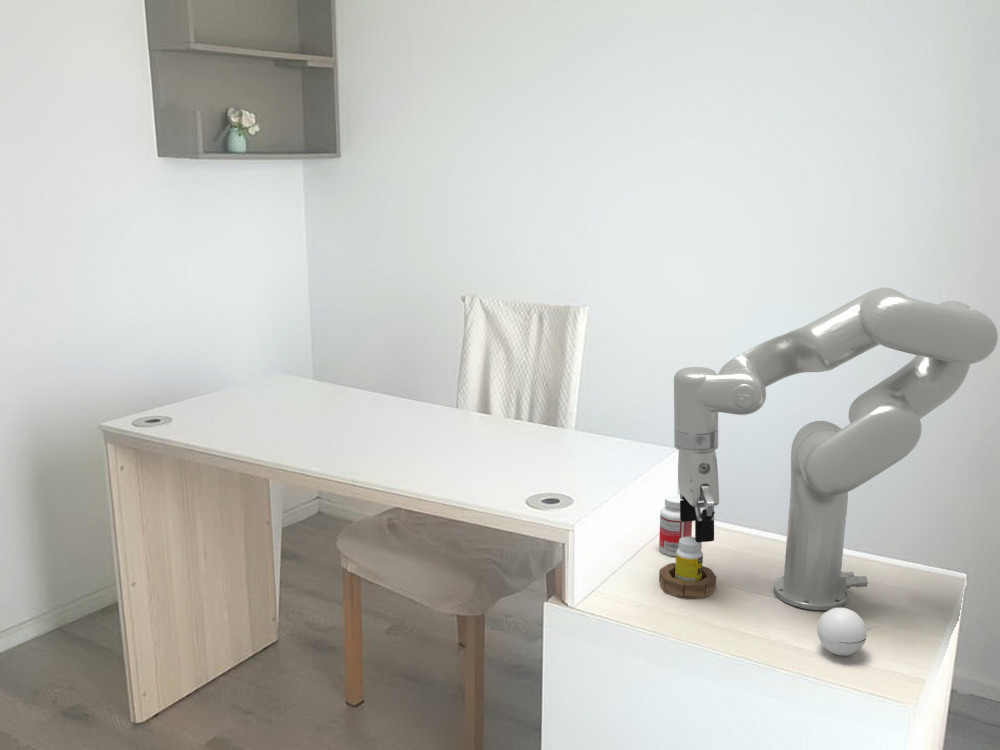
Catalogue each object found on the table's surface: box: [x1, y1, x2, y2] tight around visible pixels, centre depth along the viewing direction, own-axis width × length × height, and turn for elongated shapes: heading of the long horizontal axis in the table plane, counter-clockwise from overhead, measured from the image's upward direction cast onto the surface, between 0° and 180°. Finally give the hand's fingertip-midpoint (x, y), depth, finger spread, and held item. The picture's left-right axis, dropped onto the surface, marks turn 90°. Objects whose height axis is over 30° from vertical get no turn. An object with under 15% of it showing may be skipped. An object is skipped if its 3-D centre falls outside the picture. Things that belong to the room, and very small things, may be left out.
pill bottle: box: [658, 493, 693, 557], centre depth 192 cm, size 6×6×11 cm
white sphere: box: [817, 607, 880, 656], centre depth 154 cm, size 10×7×7 cm
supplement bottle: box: [675, 536, 704, 582], centre depth 176 cm, size 5×5×8 cm
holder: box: [658, 562, 717, 600], centre depth 177 cm, size 10×10×3 cm
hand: (696, 530), depth 175 cm, fingers open, 9 cm apart
